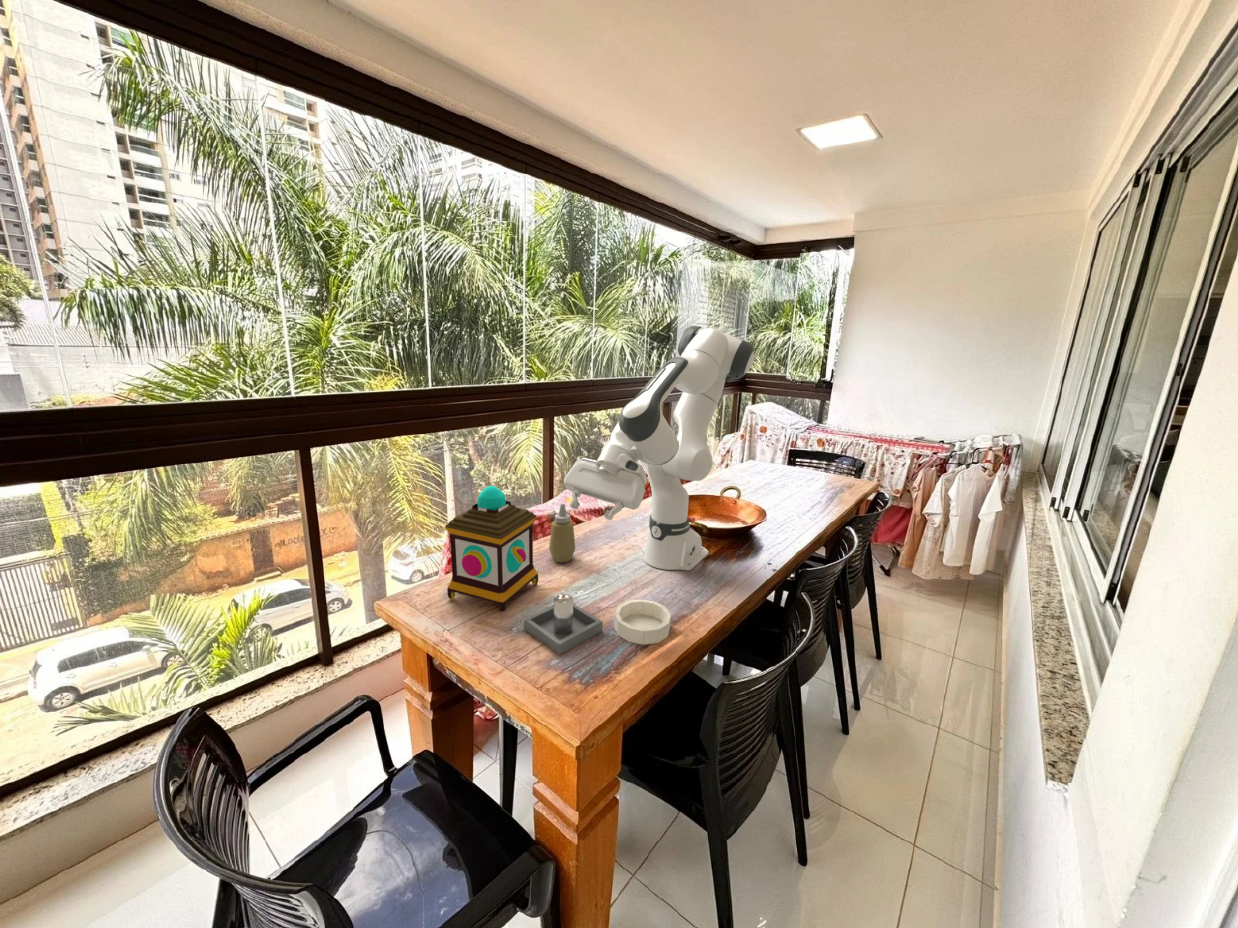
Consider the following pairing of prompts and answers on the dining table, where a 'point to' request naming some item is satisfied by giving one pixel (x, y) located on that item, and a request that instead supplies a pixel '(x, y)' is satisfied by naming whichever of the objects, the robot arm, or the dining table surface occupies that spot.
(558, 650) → the tray
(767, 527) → the dining table surface
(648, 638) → the bowl
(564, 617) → the pebble cup
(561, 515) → the squeeze bottle
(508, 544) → the decorative lantern
